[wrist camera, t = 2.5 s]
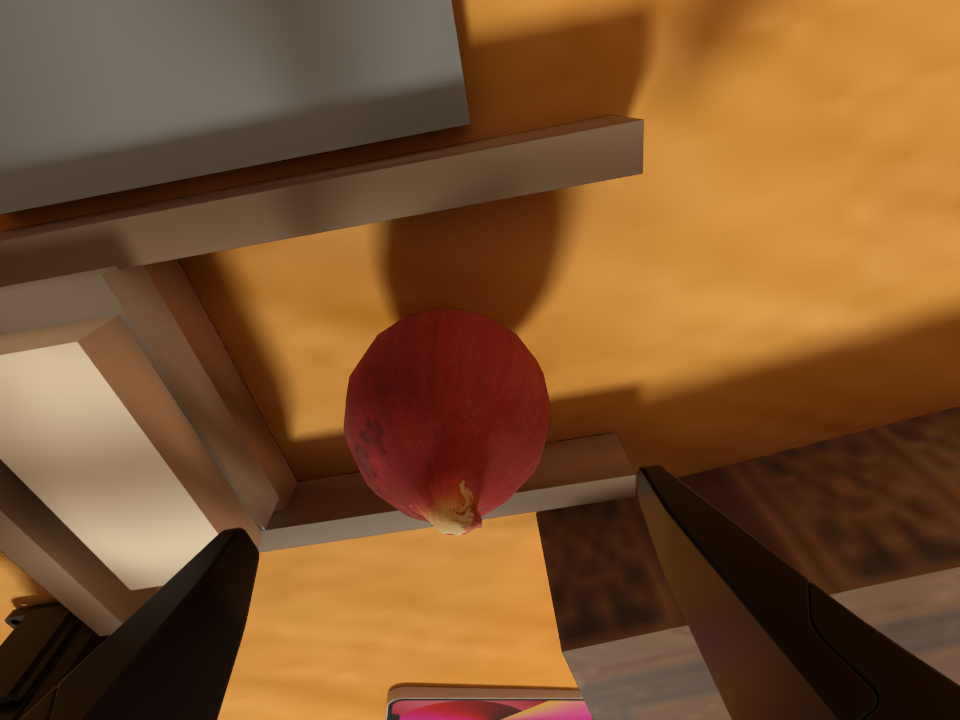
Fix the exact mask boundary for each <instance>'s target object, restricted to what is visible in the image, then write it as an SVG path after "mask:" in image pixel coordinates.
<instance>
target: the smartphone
mask: <svg viewBox="0 0 960 720" xmlns="http://www.w3.org/2000/svg"><path fill="white" fill-rule="evenodd" d="M385 720H593V719H592V716H591V714H590V712H589V710H588V708H587V706H586V703H585V701H584V699H583V697H582V695H581V692H580V690H540V689H494V688H448V687H398V688H395V689H392V690H391V691H390V692H389V693H388V698H387V708H386V719H385Z"/></svg>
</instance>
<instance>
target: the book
mask: <svg viewBox="0 0 960 720" xmlns="http://www.w3.org/2000/svg"><path fill="white" fill-rule="evenodd" d="M678 479H679V480H680V481H682V482H683V483H684V484H685V485H687V486H688V487H689V488H691V489H692V490H693V491H695V492H696V493H697V494H698V495H700V496H701V497H702V498H704V499H705V500H706V501H708V502H709V503H710V504H711V505H713V506H714V507H715V508H717V509H718V510H719V511H720V512H722V513H723V514H724V515H726V516H727V517H728V518H730V519H731V520H732V521H733V522H735V523H736V524H737V525H739V526H740V527H741V528H743V529H744V530H745V531H746V532H748V533H749V534H750V535H752V536H753V537H754V538H756V539H757V540H758V541H759V542H761V543H762V544H763V545H765V546H766V547H767V548H768V549H770V550H771V551H772V552H774V553H775V554H776V555H778V556H779V557H780V558H781V559H783V560H784V561H785V562H787V563H788V564H789V565H791V566H792V567H793V568H794V569H796V570H797V571H798V572H800V573H801V574H802V575H804V576H805V577H806V578H807V579H808V582H813V583H814V584H815V585H817V586H818V587H819V588H821V589H822V590H823V591H825V592H826V593H827V594H828V595H830V596H831V597H832V598H834V599H835V600H836V601H838V602H839V603H840V604H842V605H843V606H844V607H846V608H847V609H849V610H850V611H851V612H853V613H854V614H855V615H857V616H858V617H859V618H861V619H862V620H863V621H865V622H866V623H868V624H869V625H871V626H872V627H873V628H875V629H876V630H878V631H879V632H881V633H882V634H884V635H885V636H887V637H888V638H890V639H891V640H892V641H894V642H895V643H897V644H898V645H900V646H901V647H903V648H904V649H906V650H907V651H909V652H910V653H912V654H913V655H915V656H916V657H918V658H919V659H921V660H922V661H924V662H925V663H927V664H928V665H930V666H931V667H933V668H934V669H936V670H937V671H939V672H940V673H942V674H943V675H945V676H946V677H948V678H949V679H951V680H952V681H954V682H955V683H957V684H958V685H960V407H957V408H953V409H949V410H945V411H941V412H937V413H933V414H929V415H925V416H921V417H917V418H913V419H909V420H905V421H901V422H897V423H893V424H889V425H885V426H882V427H878V428H874V429H870V430H866V431H862V432H858V433H854V434H850V435H846V436H842V437H838V438H834V439H830V440H826V441H822V442H818V443H814V444H810V445H806V446H803V447H799V448H795V449H791V450H787V451H783V452H779V453H775V454H771V455H767V456H763V457H759V458H755V459H751V460H747V461H743V462H739V463H735V464H731V465H727V466H724V467H720V468H716V469H712V470H708V471H704V472H700V473H696V474H692V475H688V476H684V477H680V478H678ZM536 517H537V522H538V527H539V533H540V538H541V543H542V549H543V554H544V559H545V564H546V570H547V575H548V580H549V586H550V591H551V596H552V601H553V607H554V612H555V617H556V623H557V628H558V633H559V639H560V644H561V649H562V653H563V655H564V657H565V660H566V662H567V664H568V666H569V668H570V671H571V673H572V675H573V677H574V679H575V681H576V684H577V686H578V688H579V690H580V692H581V695H582V697H583V699H584V701H585V703H586V706H587V708H588V710H589V712H590V714H591V716H592V719H593V720H732V719H731V717H730V715H729V713H728V711H727V709H726V706H725V704H724V702H723V700H722V698H721V696H720V693H719V691H718V689H717V687H716V685H715V683H714V680H713V678H712V676H711V674H710V672H709V670H708V668H707V665H706V663H705V661H704V659H703V657H702V655H701V652H700V650H699V648H698V646H697V644H696V642H695V639H694V637H693V635H692V633H691V631H690V629H689V627H688V624H687V622H686V620H685V618H684V616H683V614H682V611H681V609H680V607H679V605H678V603H677V601H676V598H675V596H674V594H673V592H672V590H671V588H670V586H669V583H668V581H667V579H666V577H665V574H664V572H663V570H662V567H661V564H660V561H659V559H658V556H657V553H656V550H655V547H654V544H653V541H652V538H651V535H650V532H649V529H648V526H647V523H646V520H645V517H644V514H643V511H642V508H641V505H640V502H639V498H638V488H637V489H636V494H635V497H631V498H624V499H617V500H610V501H604V502H597V503H590V504H583V505H577V506H570V507H563V508H558V509H554V510H550V511H546V512H542V513H538V514H536Z"/></svg>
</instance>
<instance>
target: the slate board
mask: <svg viewBox="0 0 960 720" xmlns="http://www.w3.org/2000/svg"><path fill="white" fill-rule="evenodd" d="M468 124H471V122H470V115H469V109H468V102H467V96H466V90H465V83H464V77H463V71H462V64H461V58H460V52H459V45H458V39H457V33H456V26H455V20H454V14H453V7H452V1H451V0H0V214H5V213H10V212H15V211H20V210H25V209H31V208H36V207H41V206H46V205H51V204H57V203H62V202H67V201H72V200H77V199H83V198H88V197H93V196H98V195H103V194H109V193H114V192H119V191H124V190H129V189H135V188H140V187H145V186H150V185H155V184H161V183H166V182H171V181H176V180H181V179H187V178H192V177H197V176H202V175H207V174H213V173H218V172H223V171H228V170H233V169H239V168H244V167H249V166H254V165H259V164H265V163H270V162H275V161H280V160H285V159H291V158H296V157H301V156H306V155H311V154H317V153H322V152H327V151H332V150H337V149H343V148H348V147H353V146H358V145H364V144H369V143H374V142H379V141H384V140H390V139H395V138H400V137H405V136H410V135H416V134H421V133H426V132H431V131H436V130H442V129H447V128H452V127H457V126H462V125H468Z"/></svg>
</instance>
